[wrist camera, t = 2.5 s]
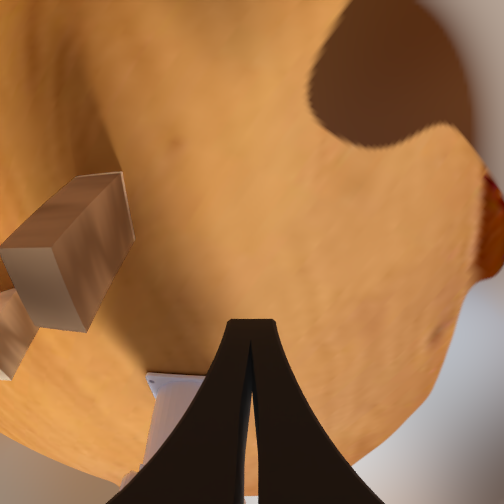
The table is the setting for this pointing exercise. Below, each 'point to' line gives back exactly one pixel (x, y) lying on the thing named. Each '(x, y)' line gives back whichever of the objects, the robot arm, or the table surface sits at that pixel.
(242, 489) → the robot arm
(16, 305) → the maple block
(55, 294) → the walnut block
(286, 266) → the table surface
